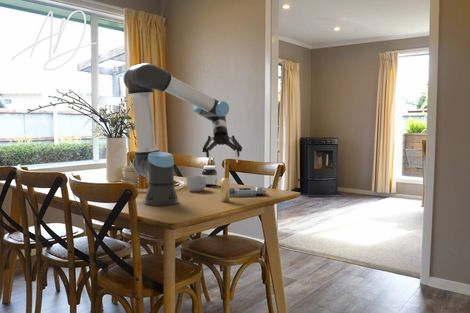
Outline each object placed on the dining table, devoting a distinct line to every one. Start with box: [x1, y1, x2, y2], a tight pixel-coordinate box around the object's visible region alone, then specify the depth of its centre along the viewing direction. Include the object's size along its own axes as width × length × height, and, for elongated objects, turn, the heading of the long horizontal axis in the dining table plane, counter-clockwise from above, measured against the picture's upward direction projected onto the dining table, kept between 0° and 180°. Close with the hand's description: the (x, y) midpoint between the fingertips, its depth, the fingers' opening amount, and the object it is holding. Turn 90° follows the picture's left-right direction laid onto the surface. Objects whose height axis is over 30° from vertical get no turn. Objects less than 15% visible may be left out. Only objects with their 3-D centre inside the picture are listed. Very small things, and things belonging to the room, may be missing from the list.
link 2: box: [233, 186, 267, 196], centre depth 213 cm, size 15×10×4 cm, turn 98°
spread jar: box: [201, 165, 218, 188], centre depth 242 cm, size 12×11×12 cm
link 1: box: [230, 187, 257, 198], centre depth 212 cm, size 15×10×4 cm, turn 98°
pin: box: [220, 177, 231, 203], centre depth 195 cm, size 4×4×11 cm
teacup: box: [185, 174, 207, 193], centre depth 226 cm, size 14×11×8 cm
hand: (223, 161), depth 204 cm, fingers open, 13 cm apart
